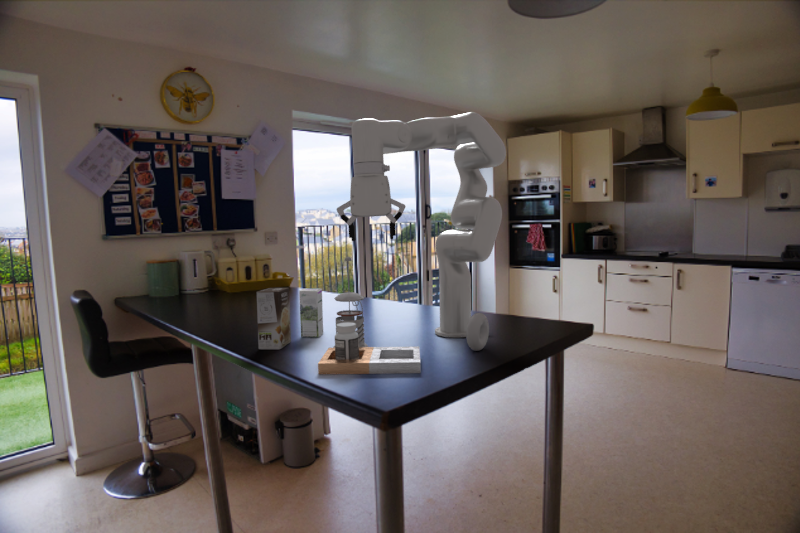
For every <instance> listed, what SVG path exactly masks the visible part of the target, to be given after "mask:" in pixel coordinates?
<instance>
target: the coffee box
mask: <svg viewBox="0 0 800 533" xmlns="http://www.w3.org/2000/svg"><path fill="white" fill-rule="evenodd" d="M255 294H256V311H257V312H256V313H257V316H256V317H257V318H256V319H257V342H258V344H257V345H258V350H281V349H283V348H284V347H285V346H287V345H289V344H290V343H291V342H292V336H291V335H292V334H291V332H292V331H291V306H290V305H291V303H290V302H291V300H290V287H268V288H265V289H261V290H257V291H256V293H255Z"/></svg>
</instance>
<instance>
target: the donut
mask: <svg viewBox="0 0 800 533" xmlns="http://www.w3.org/2000/svg"><path fill="white" fill-rule="evenodd" d="M489 335H490V324H489V320H488V318H487V316H486V315H485V314H484V313H482V312H475V313H474V314H473V315H472V314H471V318H470V320H469V322H468V325H467V331H466V337H465V338H466V342H467V345H468V347H469V349H471V350H472V351H475V352H476V351H477V352H478V351H481V350H483V349H484V348H485V347H486V345H487V342H488V339H489Z"/></svg>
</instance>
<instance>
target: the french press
mask: <svg viewBox="0 0 800 533" xmlns="http://www.w3.org/2000/svg"><path fill="white" fill-rule="evenodd" d="M351 261H352V257H351V256H346V257H345V258H344V262H347V276H348V277H347V281H348V282H347V283H348V289H350V271H349V270H350V269H349V266H350V265H349V262H351ZM364 299H365V297H364V296H363V295H361V294H360V293H357V292H354V291H352V292H351V291H350V290H347V292H343V293H340V294H338V295H337V296H335V297H334V300H335V301H336V302H340V303H341V302H342V303H348V309H346V310H344V309H343V310H339V311H337V312H336V315H337V317H335V326H336V325H337V324H339V323H346V322H351V323H355V324H356V330H355V332H356V333H357V334H358V336H359V347H369V345H368V344H367V343H366V342H365V337H364V336H365V328H364V327H365V324H364V322H365V318H364V313H363V312H364V309H363V304H362V301H363V300H364ZM350 302H351V303H352V306H354V307H355V308H356V310H355V309H351V304H350ZM359 304H360V306H361V310H358V306H359ZM355 318H356V319H355ZM337 333H338V331H337V330H336V329H335V335H336V334H337ZM332 348H335V345H334V346H332Z"/></svg>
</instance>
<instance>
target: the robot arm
mask: <svg viewBox="0 0 800 533" xmlns="http://www.w3.org/2000/svg"><path fill="white" fill-rule="evenodd" d="M351 142H352V157H353V158H352V159H353V161H352V162H353V176H352V177H351V182H350V192H349V193H350V198H349V201H346V202H344V203H343V204H342V205H340V206H338V207H337V208H336V213H338V215H339V217H340V219H341V220H342V221H343V222H344V223H345V224H347V227H348V237H349V239H351V241H352V242H355V241H356V240H357V237H356V236H357V234H356V225H355V221H356V220H357V219H358V218H365V217H368V218H369V217H385V216H386V217H387V219H388V220H389V221H390V222H389V223H388V224H389V239H390V240H394V236H397V233H396V232H397V231H396V223H397V221H398V220H399V219H400V218H401V217H402V216H403V213H404V210H405V209H406V204H404V203H402V202H400V201H397V200H396V199H393V198H391V197H392V196H391V188H390V187H391V186H390V182H389V176H387V175H385V173H386V172H390V170H391V168H390V165H389V164H388V165H387V164H385V163H384V155H388V154H395V153H397V154H398V153H402V152H403V153H405V152H419V151H421V152H422V151H426V150H434V149H442V148H450V147H451V148H452V147H456V146H457V147H456V148H455V150H454V153H453V161H454V164H455V167H456V170H457V172H458V174H459V179H460V185H459V188H458V192H457V196H456V197H455V201H454V203H453V206H452V210H451V214H450V221H451V224H452V225H453V227H455V229H447V230H445V231H443V232H441V233H440V234H439V235H438V236H437V238H436V240H435V244H434V245H435V246H434V247H435V253H436V259H437V263H438V274H439V275H438V276H439V277H438V278H439V279H438V280H439V284H438V286H439V287H438V288H439V290H438V292H439V327H436V328H435V329H434V334H435V335H436V336H439V337H445V338H453V339H454V338H455V339H456V338H459V339H460V338H467V337H466V331H467V325H468V322H469V320H470V318H471V316H472V276H471V272H470V268H469V266H468V264H467V263H483V262H485V261H487V260H488V259H489V257H490V256H491V254H492V251H493V249H494V245H495V242H496V240H497V236H498V233H499V230H500V226H501V223H502V220H503V219H502V218H503V209H502V206H501V204H500V202H499V200H498V199H496V198H495V197H492V196H487V193H488V184H487V181H486V180H485V178H484V176H483V175H482V172H481V170H482V169H488V168H495V167H499V166H500V165H502V164H503V163H504V162H505V160H506V158H507V157H506V156H507V149H506V145H505V143H504V141H503V140H502V138H501V137H500V135H499V134H498V133H497V132H496V130H495V129H494V128H493V127H492V125H491V124H490V123H489V122H488V121H487V119H485V117H483V116H482V115H481V114H479V113H478V112H474V111H470V112H466V113H461V114H457V115H450V116H440V117H424V118H418V119H415V120H410V121H407V122H405V121H402V120H394V119H393V120H378V119H375V118H362V119H361V118H360V119H356V120H354V121H353V122H352V124H351ZM480 169H481V170H480ZM392 205H393V206H394V207H398V211H397V212H396V214H395V215H393V214H392ZM348 208H350V214H351V215H350V217H348V215H347V214H346V213H345V212H344V211H345V210H346V209H348Z"/></svg>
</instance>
